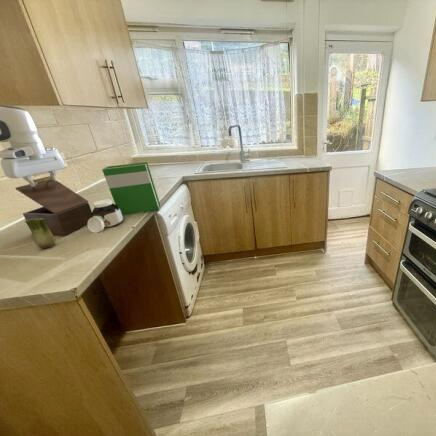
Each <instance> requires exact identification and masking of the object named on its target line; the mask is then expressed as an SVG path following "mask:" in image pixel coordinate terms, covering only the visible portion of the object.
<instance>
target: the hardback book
mask: <svg viewBox="0 0 436 436" xmlns="http://www.w3.org/2000/svg"><path fill="white" fill-rule="evenodd" d="M101 171H102V173H103V176H104V178H105V181H106V184H107V187H108V189H109V191H110V194H111V196H112V199H113V202H114V204H115V205H117V206H118V207H119V209H120V211H121V213H122V216H130V215H134V214H142V213H150V212H156V211H160V207H161V203H160V199H159V196H158V193H157V189H156V186H155V182H154V178H153V176H152V173H151V170H150V166H149V163H148V161H144V162H135V163H127V164H118V165H109V166H105V167H104V168H102V169H101Z"/></svg>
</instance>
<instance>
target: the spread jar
mask: <svg viewBox="0 0 436 436" xmlns="http://www.w3.org/2000/svg"><path fill="white" fill-rule="evenodd" d="M92 206H93V210H92V216H93V217H92V218H90V219H89V220H88V223H87V226H86V227H87V228H88V230H89V231H90V232H91V233H92V234H93V233H94V234H97V233H98V234H99V233H101V232H102V231H104V229H111V228H114V227H117V226H120V225H121V224H122V222H123V221H124V217H123V216H124V215H123V216H122V213H121V211H120V209H119V207H118V206H117V205H115V203H113V200H112V199H110V198H106V199H105V198H104V199H101V200H97V201H94V202H92Z"/></svg>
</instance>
